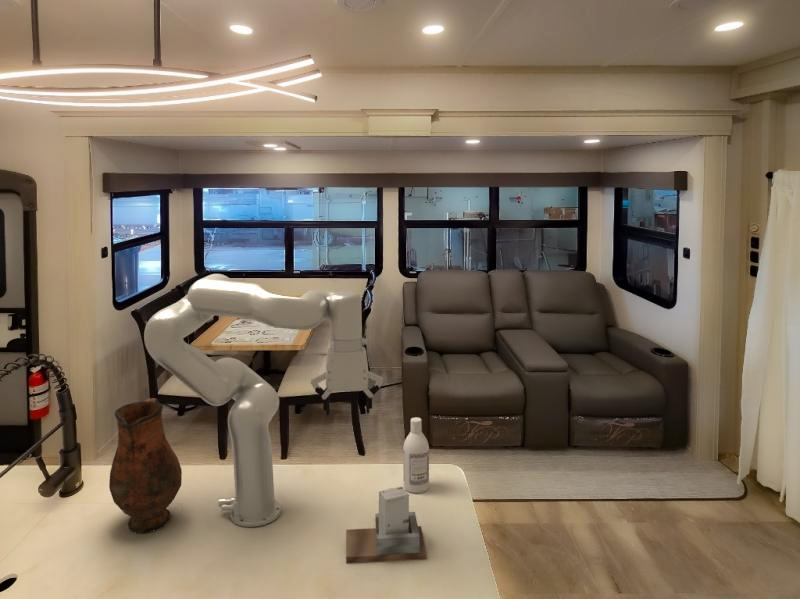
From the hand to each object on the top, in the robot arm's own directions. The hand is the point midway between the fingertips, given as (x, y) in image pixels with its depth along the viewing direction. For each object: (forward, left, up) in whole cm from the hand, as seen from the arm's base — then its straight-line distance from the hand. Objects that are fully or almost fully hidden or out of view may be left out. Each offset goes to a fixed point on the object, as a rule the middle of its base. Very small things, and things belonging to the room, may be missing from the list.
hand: (348, 412), depth 155 cm
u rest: (+8, -13, -28) cm, 32 cm away
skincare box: (+10, -13, -27) cm, 32 cm away
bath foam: (+18, +14, -28) cm, 36 cm away
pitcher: (-50, +5, -28) cm, 58 cm away
